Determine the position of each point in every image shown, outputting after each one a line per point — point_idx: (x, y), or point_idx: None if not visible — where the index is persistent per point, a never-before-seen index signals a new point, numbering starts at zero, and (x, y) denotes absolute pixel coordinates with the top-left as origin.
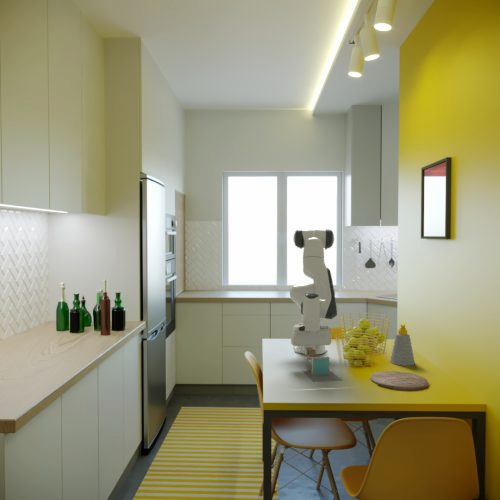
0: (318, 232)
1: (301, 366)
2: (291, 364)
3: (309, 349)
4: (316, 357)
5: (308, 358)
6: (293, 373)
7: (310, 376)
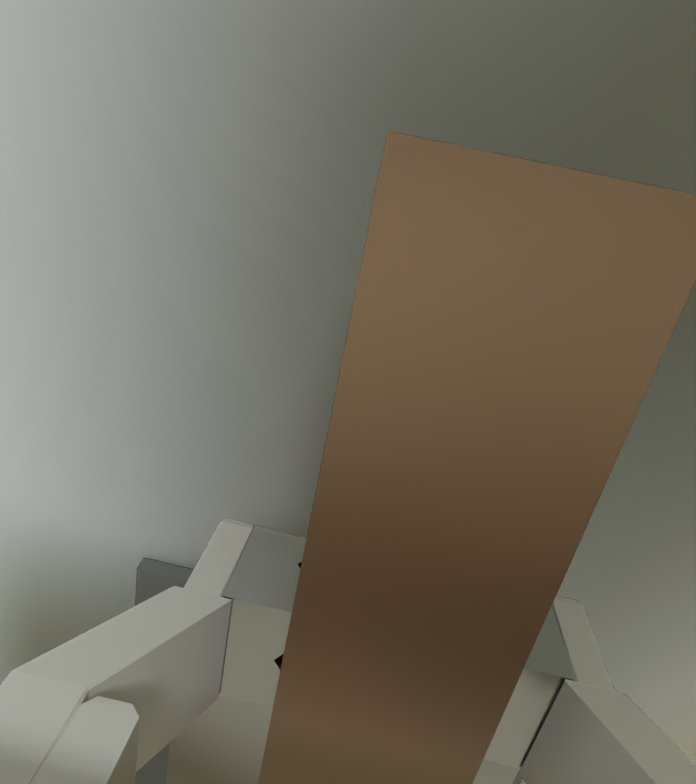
0: None
1: (279, 265)
2: (132, 24)
3: (314, 714)
4: None
5: (182, 751)
6: (15, 564)
7: (162, 769)
